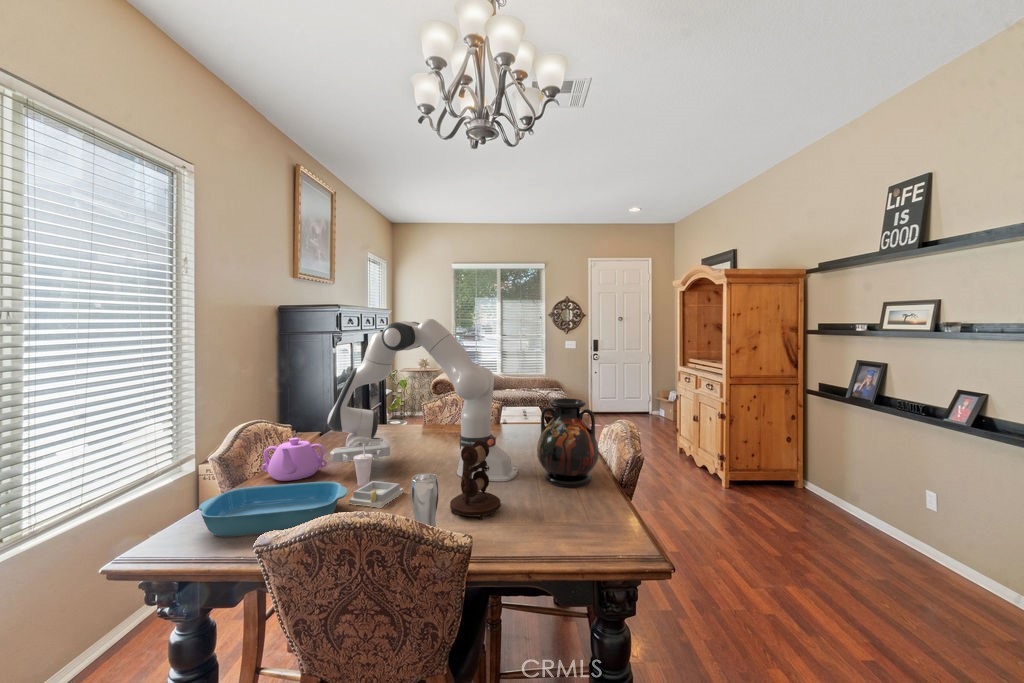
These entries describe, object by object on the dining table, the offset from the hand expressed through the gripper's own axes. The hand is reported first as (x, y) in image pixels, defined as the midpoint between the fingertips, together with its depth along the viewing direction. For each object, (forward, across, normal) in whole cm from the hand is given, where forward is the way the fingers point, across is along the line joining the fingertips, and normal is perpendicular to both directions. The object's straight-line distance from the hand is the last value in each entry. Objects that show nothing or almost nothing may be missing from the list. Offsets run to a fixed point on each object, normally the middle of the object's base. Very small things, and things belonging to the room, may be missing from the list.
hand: (362, 458), depth 153 cm
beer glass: (+49, +11, +9) cm, 51 cm away
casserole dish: (+23, -25, +9) cm, 35 cm away
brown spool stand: (+39, +28, +9) cm, 49 cm away
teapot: (-15, -23, +8) cm, 28 cm away
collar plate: (+18, +3, +8) cm, 20 cm away
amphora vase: (+28, +66, +9) cm, 72 cm away
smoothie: (+3, 0, +8) cm, 9 cm away
